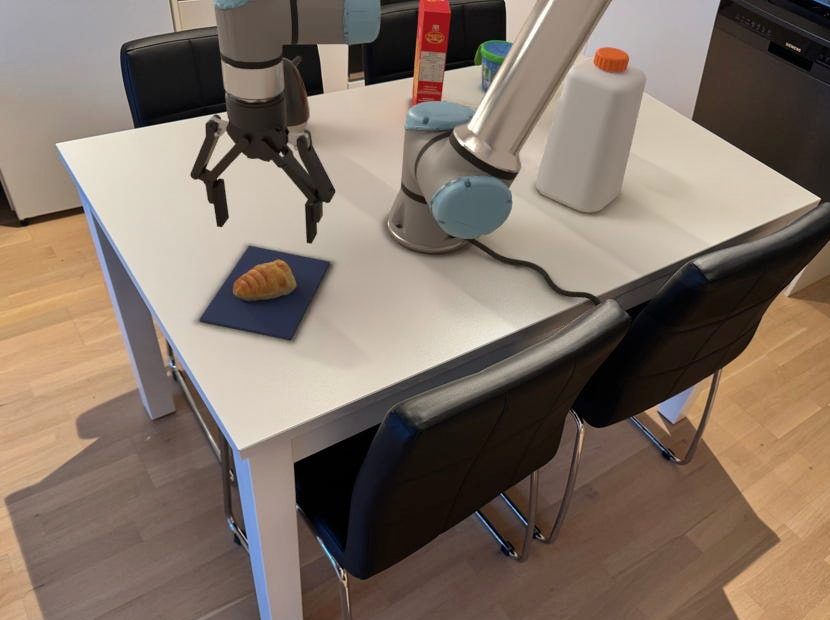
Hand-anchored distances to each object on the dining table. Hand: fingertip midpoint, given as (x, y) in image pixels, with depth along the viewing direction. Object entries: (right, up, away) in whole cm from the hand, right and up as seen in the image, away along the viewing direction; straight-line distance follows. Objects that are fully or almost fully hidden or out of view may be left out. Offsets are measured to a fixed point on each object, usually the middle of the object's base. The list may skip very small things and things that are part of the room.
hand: (267, 230), depth 109 cm
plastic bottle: (+53, +15, +41) cm, 69 cm away
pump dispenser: (-7, +29, +46) cm, 55 cm away
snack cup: (+39, +47, +73) cm, 95 cm away
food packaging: (+21, +36, +59) cm, 72 cm away
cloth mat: (-2, -8, +8) cm, 11 cm away
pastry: (-2, -8, +7) cm, 11 cm away
